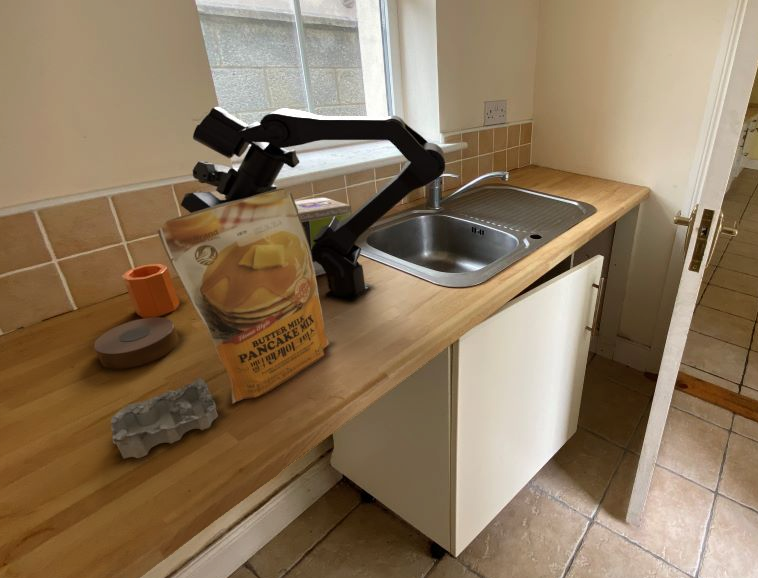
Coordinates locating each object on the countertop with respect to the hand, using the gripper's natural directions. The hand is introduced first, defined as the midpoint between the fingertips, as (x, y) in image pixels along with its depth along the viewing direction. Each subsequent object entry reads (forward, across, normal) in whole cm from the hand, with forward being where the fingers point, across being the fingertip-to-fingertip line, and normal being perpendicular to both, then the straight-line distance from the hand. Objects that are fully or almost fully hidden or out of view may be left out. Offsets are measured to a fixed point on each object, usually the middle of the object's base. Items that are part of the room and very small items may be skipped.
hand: (219, 241), depth 83 cm
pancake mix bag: (+3, +13, +27) cm, 30 cm away
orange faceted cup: (+18, +2, -2) cm, 18 cm away
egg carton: (+9, +26, +23) cm, 36 cm away
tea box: (+3, -16, +11) cm, 19 cm away
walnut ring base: (+16, +13, +6) cm, 21 cm away
